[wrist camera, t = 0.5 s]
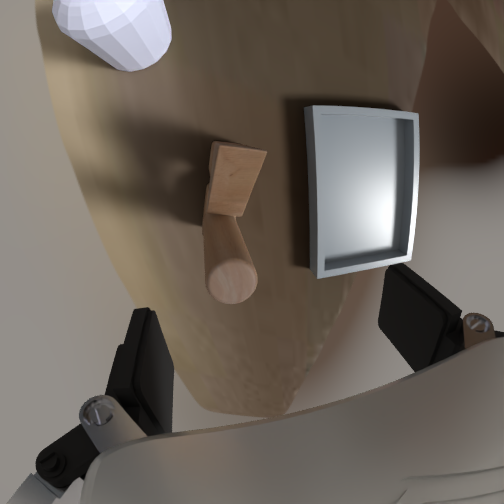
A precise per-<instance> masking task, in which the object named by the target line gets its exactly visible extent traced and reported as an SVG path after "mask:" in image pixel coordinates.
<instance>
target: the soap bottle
mask: <svg viewBox="0 0 504 504" xmlns="http://www.w3.org/2000/svg"><path fill="white" fill-rule="evenodd" d="M52 13H53V15H54V18H55V20H56V23H57V25H58V27H59V28H60V30H61V32H63V33H64V34H66V35H68V36H69V37H71V38H72V39H74V40H75V41H77V42H78V43H80V44H81V45H83V46H84V47H86V48H87V49H89V50H90V51H91V52H93V53H94V54H96V55H97V56H99V57H100V58H102V59H103V60H104V61H106V62H107V63H109V64H110V65H112V66H113V67H115V68H116V69H117V70H123V71H129V72H131V71H136V70H141V69H145V68H147V67H148V66H150V65H152V64H154V63H156V62H157V61H158V60H159V59H160V58H161V57H162V56H163V55H164V54H165V53H166V51H167V49H168V47H169V44H170V42H171V26H170V22H169V19H168V15H167V12H166V8H165V5H164V1H163V0H54V1H53V7H52Z"/></svg>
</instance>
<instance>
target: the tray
mask: <svg viewBox="0 0 504 504" xmlns="http://www.w3.org/2000/svg"><path fill="white" fill-rule="evenodd" d="M304 115H305V129H306V145H307V163H308V186H309V221H310V270H311V271H312V272H313V274H314V275H315V276H316V278H317V279H318V278H324V277H329V276H335V275H340V274H346V273H351V272H356V271H361V270H366V269H371V268H376V267H381V266H386V265H391V264H396V263H401V262H405V261H410V260H411V255H412V249H413V241H414V233H415V223H416V213H417V200H418V182H419V117H418V113H411V112H404V111H395V110H386V109H376V108H363V107H347V106H308V107H304Z"/></svg>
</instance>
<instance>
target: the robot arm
mask: <svg viewBox="0 0 504 504" xmlns="http://www.w3.org/2000/svg"><path fill="white" fill-rule="evenodd" d="M461 313H462V310H460V309H459V308H458V307H457V306H456V305H455V304H453V303H452V302H451V301H450V300H449V299H447V298H446V297H445V296H444V295H443V294H441V293H440V292H439V291H438V290H437V289H435V288H434V287H433V286H431V285H430V284H429V283H428V282H426V281H425V280H424V279H423V278H422V277H420V276H419V275H418V274H416V273H415V272H414V271H413V270H411V269H410V268H409V267H407V266H406V265H405V264H403V263H397V264H393V265H390V266H389V267H388V269H387V270H386V272H385V278H384V286H383V293H382V300H381V306H380V312H379V318H378V325H379V328H380V329H381V330H382V332H383V333H384V334H385V335H386V336H387V338H388V339H389V340H390V341H391V343H392V344H393V345H394V346H395V348H396V349H397V350H398V351H399V353H400V354H401V355H402V356H403V358H404V359H405V360H406V361H407V363H408V364H409V365H410V367H411V368H412V369H413V370H414V372H415V373H413V374H410V375H408V376H406V377H403V378H401V379H398V380H396V381H393V382H390V383H388V384H385V385H383V386H380V387H377V388H374V389H372V390H369V391H366V392H363V393H360V394H357V395H354V396H351V397H348V398H345V399H342V400H338V401H335V402H332V403H328V404H325V405H321V406H317V407H314V408H310V409H306V410H302V411H298V412H295V413H290V414H286V415H281V416H277V417H272V418H267V419H262V420H257V421H251V422H246V423H239V424H234V425H227V426H221V427H214V428H206V429H199V430H189V431H182V432H174V433H172V407H173V380H174V365H173V361H172V358H171V356H170V353H169V350H168V347H167V345H166V342H165V339H164V336H163V333H162V330H161V327H160V324H159V321H158V318H157V315H156V312H155V311H154V310H153V311H151V310H150V309H149V308H148V307H147V308H139V309H134V311H133V314H132V317H131V320H130V324H129V327H128V330H127V334H126V337H125V341H124V344H120V345H119V346H118V348H117V351H116V355H115V358H114V362H113V366H112V369H111V373H110V376H109V380H108V384H107V388H106V392H105V395H99V396H95V397H92V398H90V399H89V400H87V401H86V402H85V403H84V404H83V406H82V407H81V409H80V412H79V419H80V422H81V424H79V425H78V426H77V427H75V428H74V429H72V430H71V431H70V432H68V433H66V434H65V435H64V436H62V437H61V438H59V439H58V440H56V441H55V442H53V443H52V444H50V445H49V446H48V447H46V448H45V449H43V450H42V451H41V452H40V453H39V455H38V457H37V459H36V470H37V472H36V473H35V474H34V475H33V474H32V473H31V474H30V475H29V476H28V477H27V478H26V480H25V481H24V482H23V483H22V484H21V486H20V487H19V488H18V489H17V491H16V492H15V493H14V495H13V496H12V497H11V498H10V499H9V501H8V502H7V504H504V332H500V331H494V327H493V324H492V322H491V321H490V319H489V318H487V317H486V316H484V315H482V314H479V313H469V314H467V315H465V316H464V318H463V319H461V318H460V316H461Z"/></svg>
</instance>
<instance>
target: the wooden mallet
mask: <svg viewBox="0 0 504 504" xmlns="http://www.w3.org/2000/svg"><path fill="white" fill-rule="evenodd" d="M266 154H267V151H266V150H263V149H258V148H254V147H250V146H247V145H242V144H237V143H228V142H220V141H213V142H212V145H211V153H210V160H209V172H210V183H209V184H208V185H207V187H206V194H205V204H204V213H203V223H202V234H203V236H204V263H205V283H206V288H207V290H208V292H209V294H210V295H211V296H212V297H213V298H214V299H215V300H217V301H219V302H221V303H226V304H236V303H239V302H242V301H244V300H246V299H247V298H249V297H250V296H251V294H252V293H253V292H254V290H255V288H256V285H257V273H256V270H255V268H254V265H253V263H252V260H251V258H250V255H249V253H248V250H247V247H246V245H245V242H244V240H243V237H242V235H241V232H240V230H239V227H238V225H237V222H236V216H240V217H241V216H242V215H243V212H244V209H245V207H246V204H247V202H248V199H249V197H250V194H251V192H252V189H253V187H254V184H255V181H256V179H257V176H258V174H259V171H260V169H261V166H262V164H263V161H264V159H265V156H266Z"/></svg>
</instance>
